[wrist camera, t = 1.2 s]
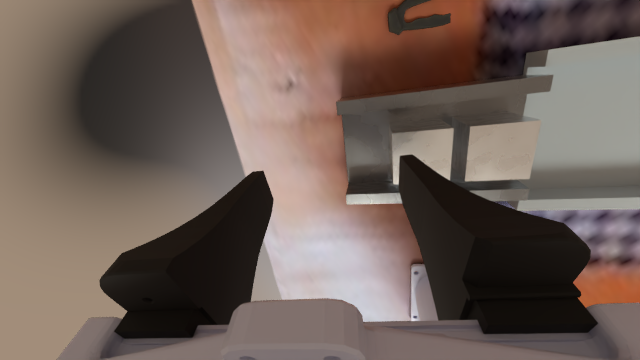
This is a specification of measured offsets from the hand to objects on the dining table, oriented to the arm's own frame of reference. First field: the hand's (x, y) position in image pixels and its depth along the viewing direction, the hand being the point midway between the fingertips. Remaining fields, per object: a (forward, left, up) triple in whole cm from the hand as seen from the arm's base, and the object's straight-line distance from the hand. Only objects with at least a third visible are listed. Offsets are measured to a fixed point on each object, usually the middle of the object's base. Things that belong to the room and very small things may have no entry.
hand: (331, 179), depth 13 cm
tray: (-1, -20, -11) cm, 23 cm away
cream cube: (-1, -6, -10) cm, 12 cm away
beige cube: (-1, -11, -10) cm, 15 cm away
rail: (-1, -7, -11) cm, 13 cm away
